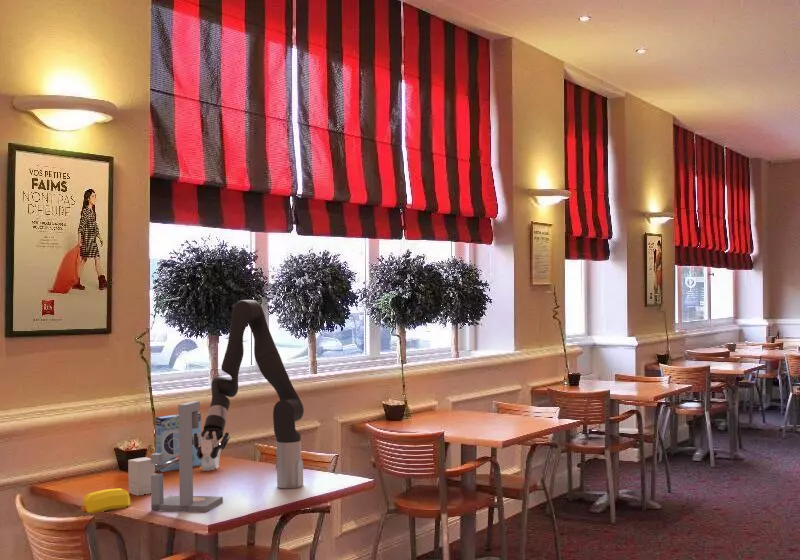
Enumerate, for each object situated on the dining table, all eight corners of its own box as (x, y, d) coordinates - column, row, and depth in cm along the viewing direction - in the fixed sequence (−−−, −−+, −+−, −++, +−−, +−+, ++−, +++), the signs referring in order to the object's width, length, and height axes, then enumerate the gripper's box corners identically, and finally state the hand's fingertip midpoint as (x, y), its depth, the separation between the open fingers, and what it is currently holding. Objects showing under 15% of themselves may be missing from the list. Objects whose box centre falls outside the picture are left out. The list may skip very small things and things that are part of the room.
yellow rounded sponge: (136, 506, 300) (126, 503, 306) (135, 487, 300) (125, 484, 306) (85, 516, 288) (76, 512, 293) (85, 496, 288) (76, 493, 294)
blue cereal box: (196, 464, 377) (195, 411, 378) (202, 465, 374) (201, 412, 374) (155, 471, 364) (155, 416, 364) (161, 472, 360) (161, 417, 361)
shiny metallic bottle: (217, 467, 319) (215, 434, 319) (211, 470, 314) (210, 436, 315) (205, 467, 320) (204, 434, 320) (199, 470, 315) (198, 436, 316)
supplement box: (156, 492, 321) (155, 458, 322) (137, 496, 316) (137, 461, 316) (146, 490, 326) (145, 456, 327) (128, 493, 321) (127, 459, 322)
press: (222, 502, 303) (221, 400, 304) (206, 512, 289) (204, 405, 290) (170, 501, 307) (168, 400, 308) (151, 510, 293) (149, 404, 294)
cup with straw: (207, 465, 373) (206, 419, 373) (227, 466, 371) (226, 419, 372) (200, 469, 364) (199, 422, 365) (220, 469, 363) (219, 422, 363)
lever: (186, 462, 314) (186, 453, 314) (161, 473, 294) (161, 464, 295) (178, 462, 314) (178, 453, 314) (152, 473, 295) (152, 463, 295)
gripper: (195, 414, 326) (184, 452, 314) (231, 413, 324) (222, 451, 312) (200, 426, 331) (190, 463, 319) (236, 425, 329) (227, 463, 317)
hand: (206, 457), depth 315 cm, fingers closed on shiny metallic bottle, 4 cm apart
